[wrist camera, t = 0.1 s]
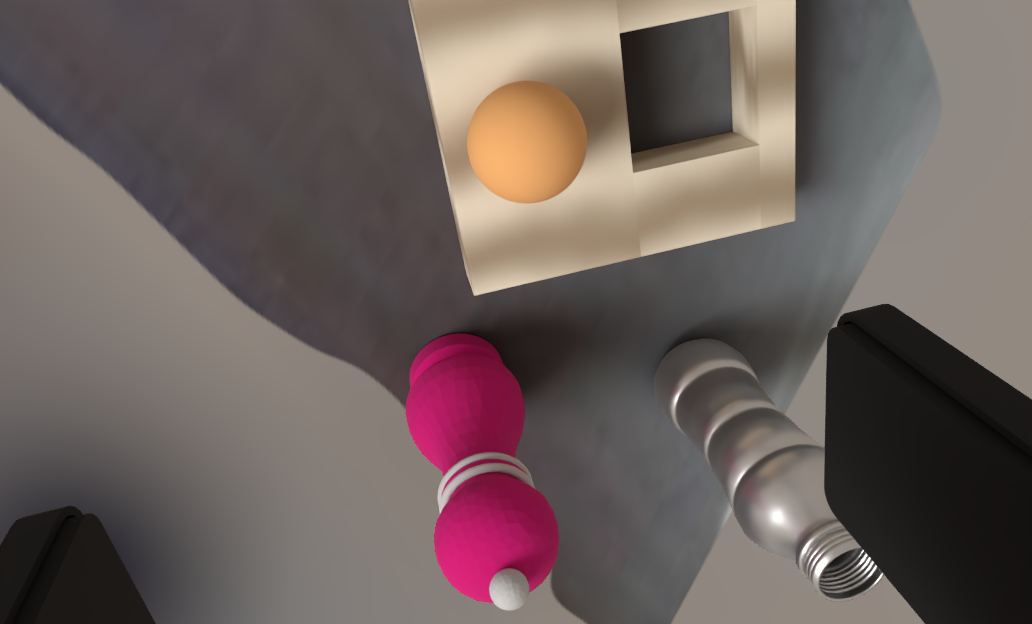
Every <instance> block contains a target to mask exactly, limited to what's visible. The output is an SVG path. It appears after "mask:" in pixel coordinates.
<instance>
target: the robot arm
mask: <svg viewBox="0 0 1032 624" xmlns="http://www.w3.org/2000/svg"><path fill="white" fill-rule="evenodd" d="M826 372H827V373H826V418H825V463H824V492H825V496H826V500H827V502H828V505H829V507H830V509H831V511H832V512H833V514H834V515H835V517H836V518H837V519H838V520H839V521H840V523H841V524H842V525H843V526H844V527H845V529H846V530H847V531H848V532H849V533H850V535H851V536H852V537H853V538H854V539H855V541H856V542H857V543H858V544H859V545H860V547H861V548H862V549H863V550H864V551H865V552H866V554H867V555H868V556H869V557H870V558H871V560H872V561H873V562H874V563H875V564H876V566H877V567H878V568H879V569H880V570H881V572H882V573H883V574H884V575H885V576H886V577H887V579H888V580H889V581H890V582H891V583H892V585H893V586H894V587H895V588H896V589H897V591H898V592H899V593H900V594H901V595H902V596H903V598H904V599H905V600H906V601H907V602H908V603H909V605H910V606H911V607H912V608H913V610H914V611H915V612H916V613H917V614H918V616H919V617H920V618H921V619H922V620H923V622H924V623H925V624H1032V399H1030V398H1029V397H1027V396H1025V395H1024V394H1023V393H1021V392H1020V391H1018V390H1017V389H1015V388H1014V387H1012V386H1011V385H1009V384H1008V383H1006V382H1005V381H1003V380H1002V379H1000V378H999V377H998V376H996V375H995V374H993V373H992V372H990V371H989V370H987V369H985V368H984V367H983V366H981V365H980V364H978V363H977V362H975V361H974V360H972V359H971V358H969V357H968V356H967V355H965V354H963V353H962V352H961V351H959V350H958V349H956V348H955V347H953V346H952V345H950V344H949V343H947V342H946V341H944V340H943V339H941V338H940V337H938V336H937V335H935V334H934V333H932V332H931V331H930V330H928V329H926V328H925V327H924V326H922V325H920V324H919V323H918V322H916V321H915V320H913V319H912V318H910V317H909V316H907V315H906V314H904V313H903V312H901V311H900V310H898V309H897V308H896V307H894V306H892V305H889V304H881V305H877V306H873V307H869V308H865V309H861V310H857V311H853V312H849V313H845V314H843V315H842V316H841V317H840V319H839V321H838V324H837V327H834V328H832V329H831V330H830V331H829V333H828V338H827V371H826ZM0 624H155V622H154V620H153V618H152V616H151V614H150V612H149V611H148V609H147V607H146V605H145V603H144V601H143V599H142V598H141V596H140V594H139V592H138V590H137V588H136V587H135V585H134V583H133V581H132V579H131V577H130V575H129V573H128V572H127V570H126V568H125V566H124V564H123V562H122V560H121V559H120V557H119V555H118V553H117V551H116V549H115V548H114V546H113V544H112V542H111V540H110V538H109V536H108V534H107V533H106V531H105V529H104V527H103V525H102V523H101V522H100V520H99V519H98V518H97V517H96V516H95V515H94V514H85V515H83V514H82V513H81V511H80V510H78V509H77V508H76V507H73V506H67V507H63V508H59V509H55V510H51V511H47V512H42V513H38V514H34V515H30V516H26V517H23V518H20V519H18V520H16V521H15V523H14V524H13V525H12V526H11V528H10V530H9V531H8V533H7V535H6V537H5V538H4V540H3V542H2V543H1V545H0Z"/></svg>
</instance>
